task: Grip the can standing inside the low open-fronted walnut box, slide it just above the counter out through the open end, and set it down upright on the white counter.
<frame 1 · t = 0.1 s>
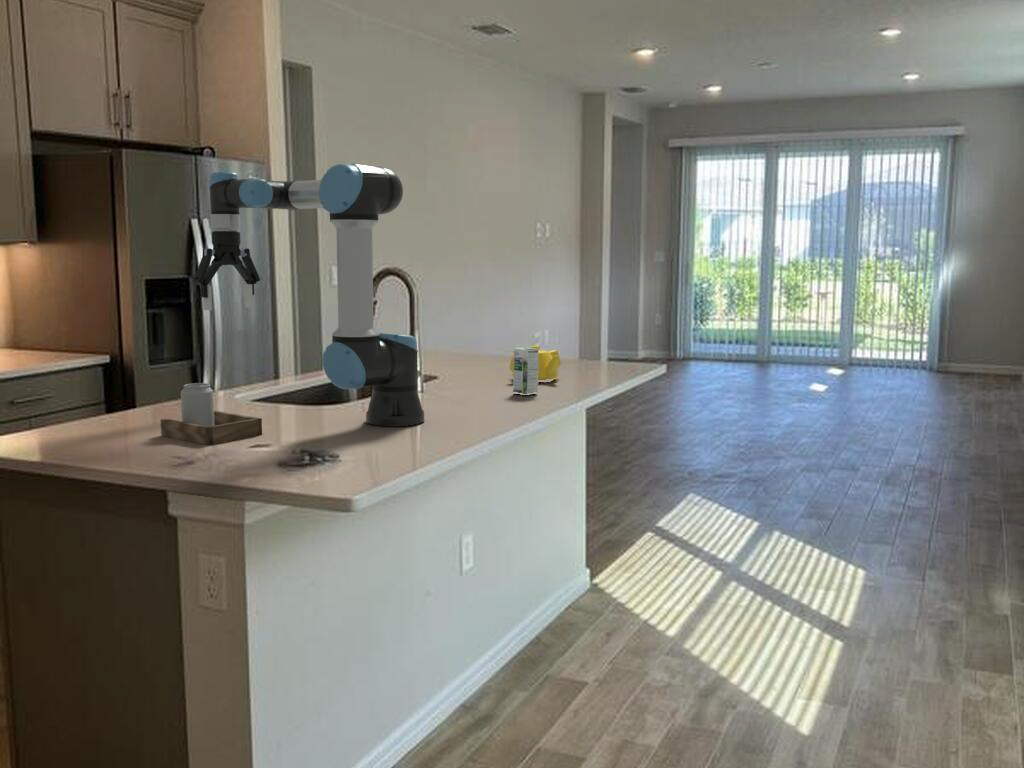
hand: (228, 308, 266), 28 cm above the worktop, tool pointing down, fingers open, 13 cm apart
teapot: (534, 381, 330), on the worktop
can: (198, 433, 236), resting in walnut box
walnut box: (209, 434, 234), on the worktop
syrup box: (525, 395, 300), on the worktop
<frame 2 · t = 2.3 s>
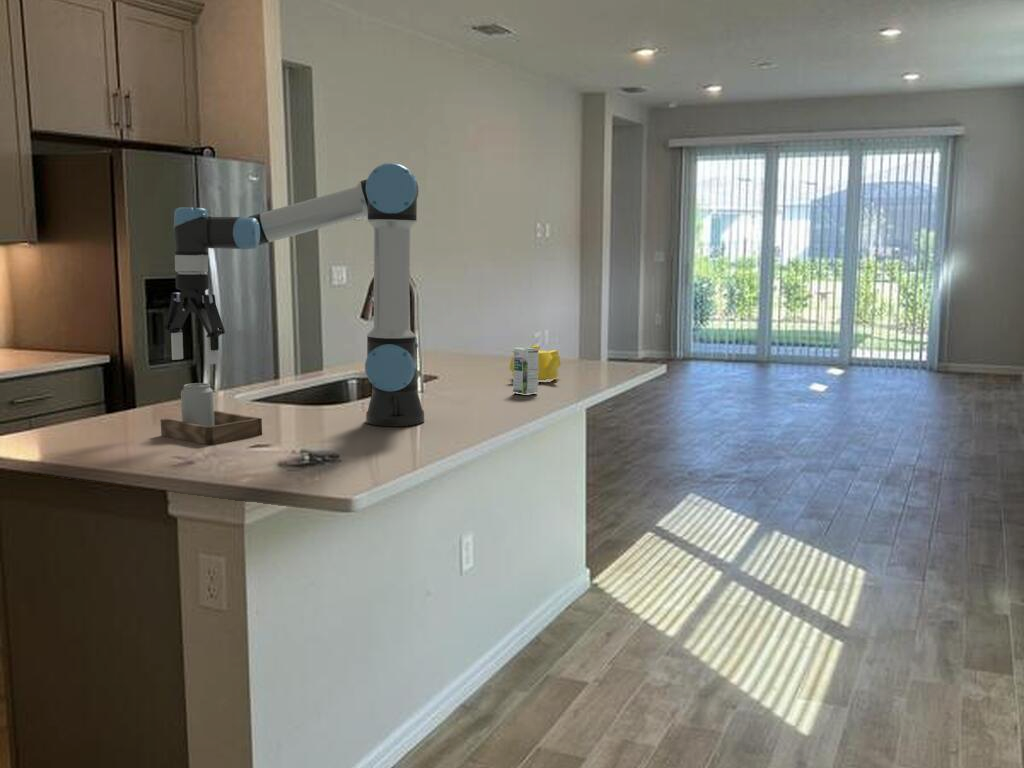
hand: (194, 361, 234), 17 cm above the worktop, tool pointing down, fingers open, 13 cm apart
nothing on the worktop moved.
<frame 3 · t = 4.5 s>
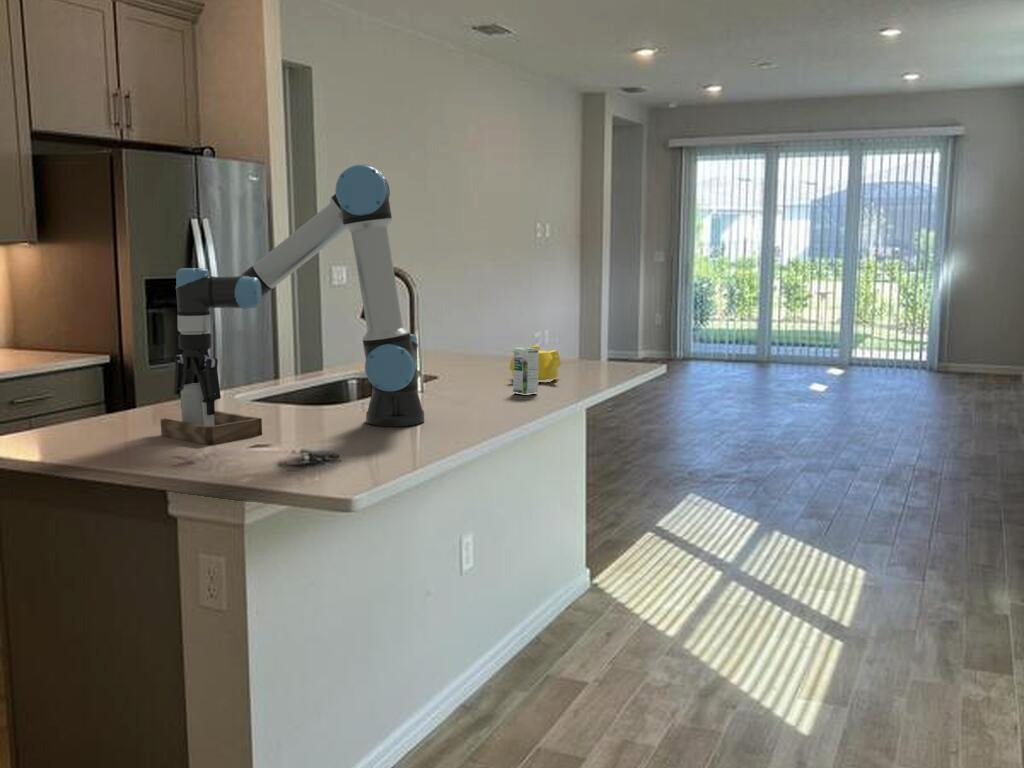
hand: (198, 425, 236), 2 cm above the worktop, tool pointing down, fingers closed on can, 7 cm apart
can: (198, 433, 236), resting in walnut box, touching gripper
everything else where it was.
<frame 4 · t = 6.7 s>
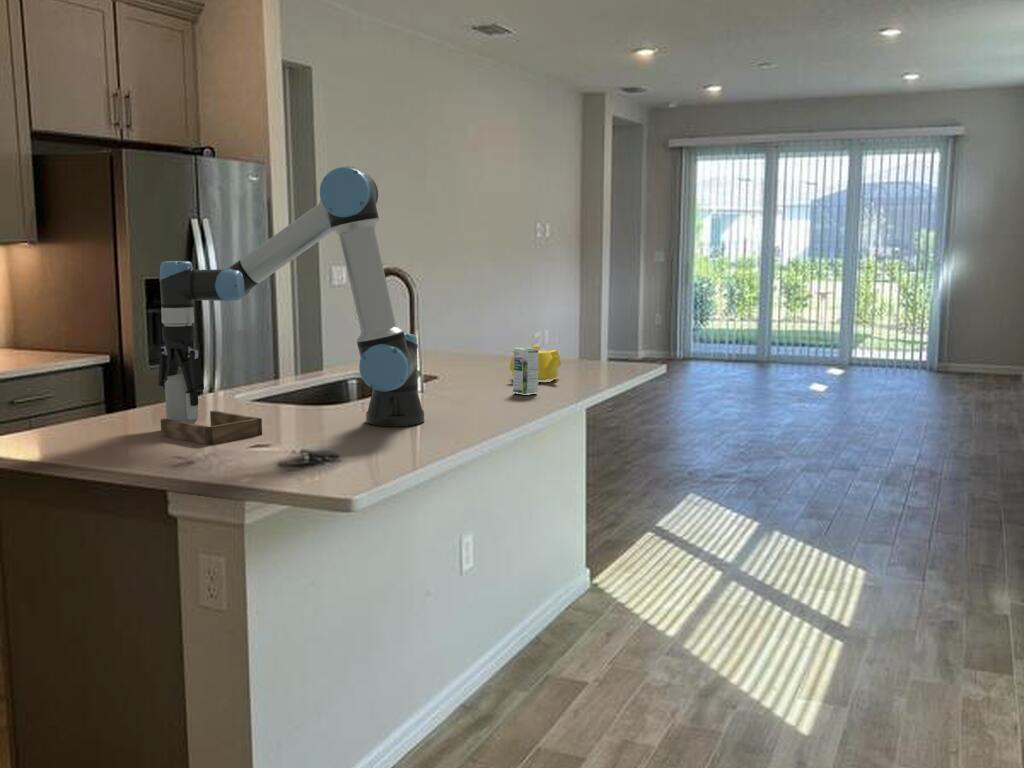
hand: (182, 416, 239), 3 cm above the worktop, tool pointing down, fingers closed on can, 7 cm apart
can: (182, 424, 240), point 1 cm above the worktop, touching gripper
everything else where it was.
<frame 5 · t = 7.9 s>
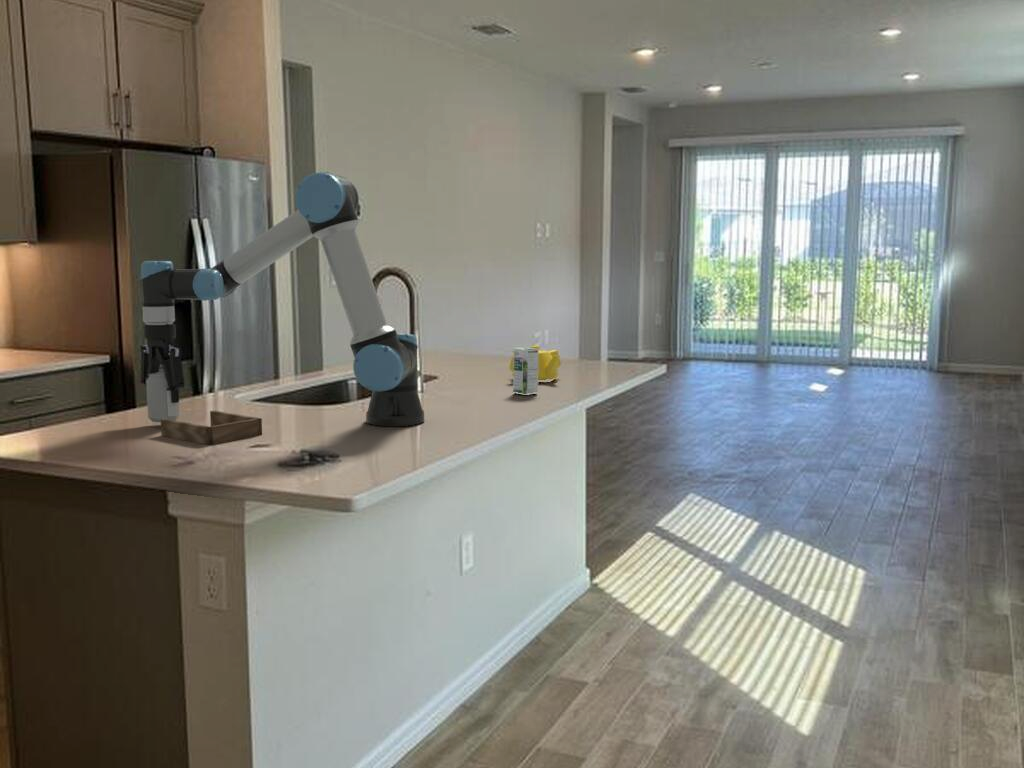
hand: (163, 413, 244), 3 cm above the worktop, tool pointing down, fingers closed on can, 7 cm apart
can: (164, 420, 244), point 1 cm above the worktop, touching gripper
everything else where it was.
when the fingers open (2 cm above the worktop, at t = 9.0 s): can stays where it is, on the worktop.
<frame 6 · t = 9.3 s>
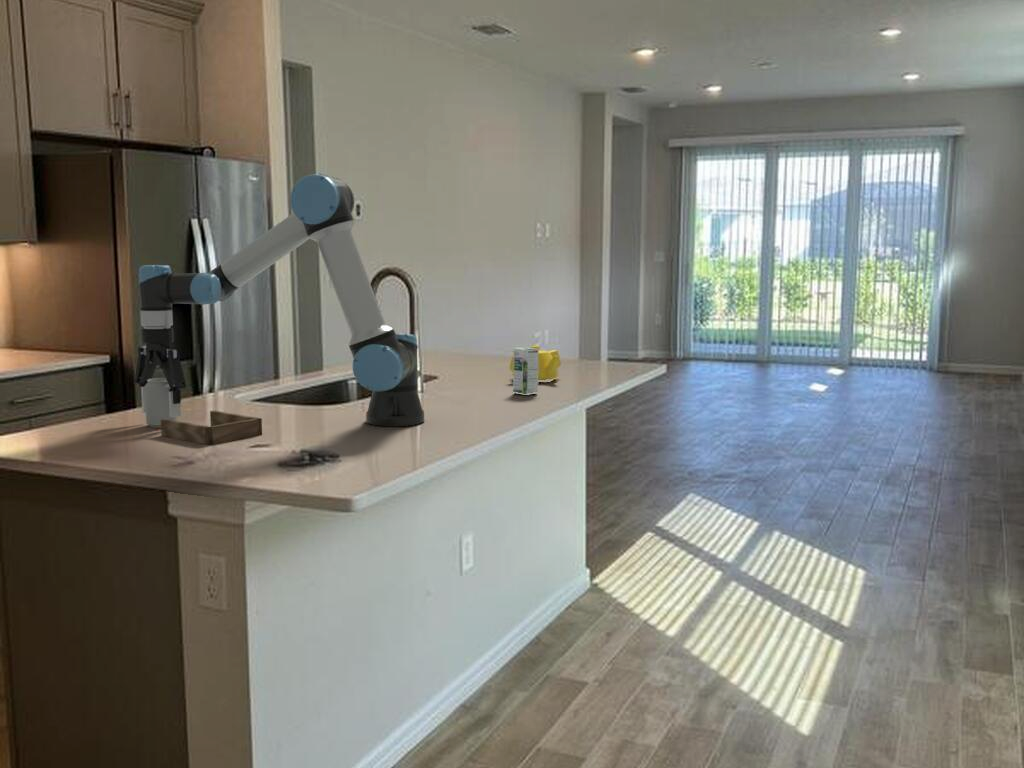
hand: (161, 414, 245), 3 cm above the worktop, tool pointing down, fingers open, 11 cm apart
can: (162, 426, 245), on the worktop
everything else where it was.
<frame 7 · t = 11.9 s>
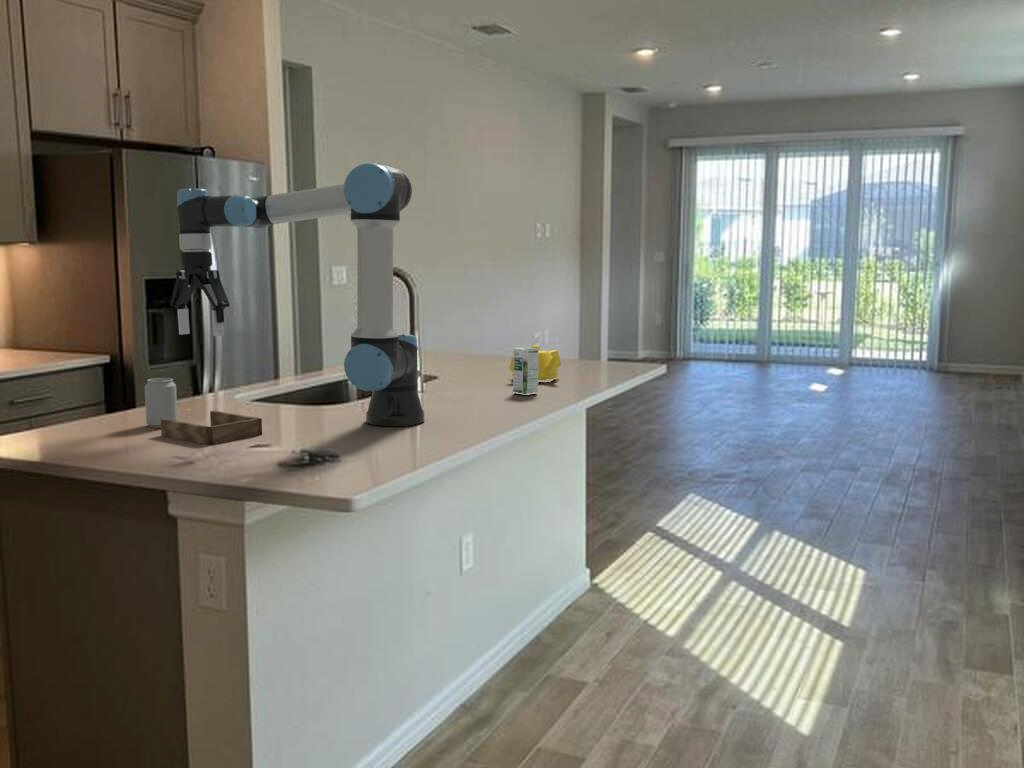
hand: (201, 335, 247), 23 cm above the worktop, tool pointing down, fingers open, 13 cm apart
nothing on the worktop moved.
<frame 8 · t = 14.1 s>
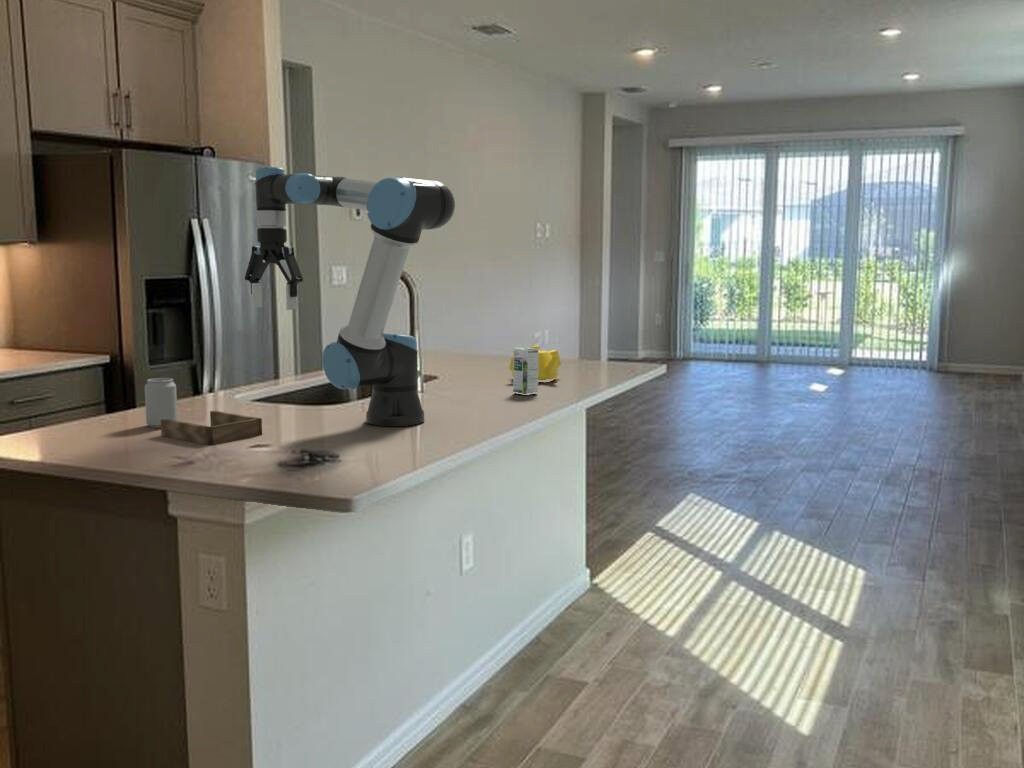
hand: (274, 308, 257), 29 cm above the worktop, tool pointing down, fingers open, 13 cm apart
nothing on the worktop moved.
at the end: can inside the target area on the worktop beside the walnut box (1.6 cm from its centre), on the worktop; can tilted 0°; the gripper is holding nothing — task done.
